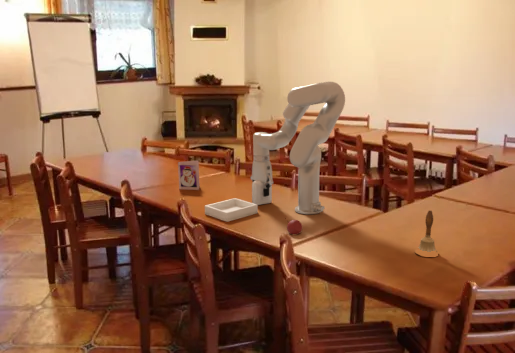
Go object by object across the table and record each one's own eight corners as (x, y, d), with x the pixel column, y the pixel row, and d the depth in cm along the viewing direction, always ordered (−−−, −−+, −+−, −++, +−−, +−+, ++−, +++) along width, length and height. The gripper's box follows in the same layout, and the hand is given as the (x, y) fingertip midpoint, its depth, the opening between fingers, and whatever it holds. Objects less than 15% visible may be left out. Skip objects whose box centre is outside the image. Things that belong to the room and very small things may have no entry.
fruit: (297, 235, 209) (290, 216, 211) (306, 231, 205) (298, 212, 206) (286, 238, 205) (279, 219, 207) (295, 234, 201) (288, 215, 202)
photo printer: (268, 200, 252) (267, 176, 250) (273, 202, 249) (273, 178, 246) (250, 204, 247) (250, 179, 244) (255, 206, 243) (255, 181, 241)
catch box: (257, 213, 233) (257, 204, 232) (226, 221, 221) (226, 213, 220) (235, 206, 244) (235, 198, 243) (204, 214, 233) (204, 205, 232)
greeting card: (178, 189, 277) (177, 162, 274) (183, 186, 284) (182, 159, 281) (198, 190, 275) (197, 163, 271) (203, 187, 282) (202, 160, 278)
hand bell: (433, 249, 186) (436, 207, 183) (442, 257, 178) (445, 214, 175) (411, 249, 186) (413, 207, 182) (419, 258, 178) (421, 214, 174)
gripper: (279, 159, 239) (279, 196, 243) (255, 154, 251) (255, 190, 256) (268, 161, 234) (268, 199, 238) (243, 157, 247) (244, 193, 251)
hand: (261, 194), depth 247 cm, fingers open, 5 cm apart
